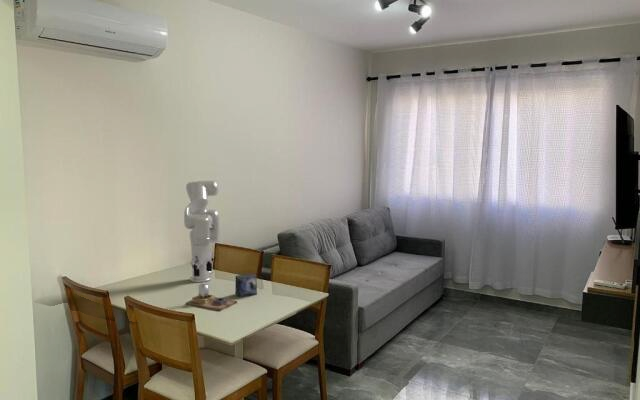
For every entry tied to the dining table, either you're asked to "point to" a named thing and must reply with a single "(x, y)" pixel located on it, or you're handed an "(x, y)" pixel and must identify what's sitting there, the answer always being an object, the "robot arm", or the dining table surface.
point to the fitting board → (211, 303)
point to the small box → (246, 285)
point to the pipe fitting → (203, 291)
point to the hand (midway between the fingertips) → (203, 273)
